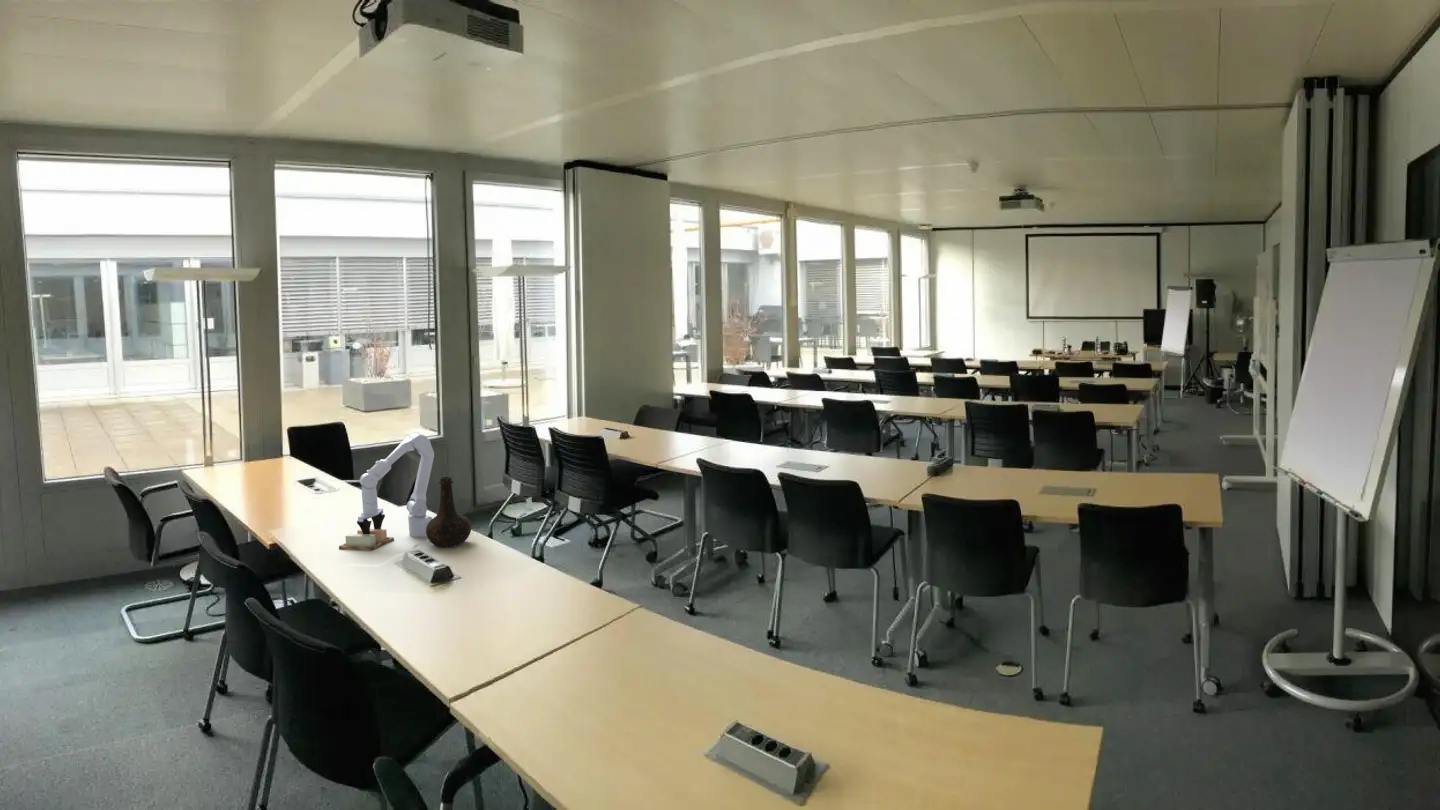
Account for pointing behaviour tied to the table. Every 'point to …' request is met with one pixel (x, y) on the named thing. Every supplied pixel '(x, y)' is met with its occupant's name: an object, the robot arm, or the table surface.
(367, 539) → the grey-green block
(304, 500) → the table surface
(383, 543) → the rack
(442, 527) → the glass bottle
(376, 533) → the peach rectangular block
